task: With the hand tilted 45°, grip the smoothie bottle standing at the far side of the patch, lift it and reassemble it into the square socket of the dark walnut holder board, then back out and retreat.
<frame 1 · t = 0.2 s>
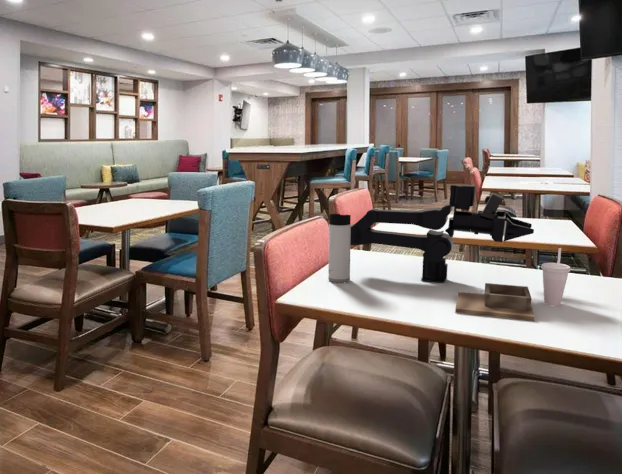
hand: (532, 228, 130), 17 cm above the table, tool horizontal, fingers open, 9 cm apart
travel mug: (338, 281, 141), on the table
holder: (493, 307, 118), on the table
smoothie: (552, 304, 121), on the table
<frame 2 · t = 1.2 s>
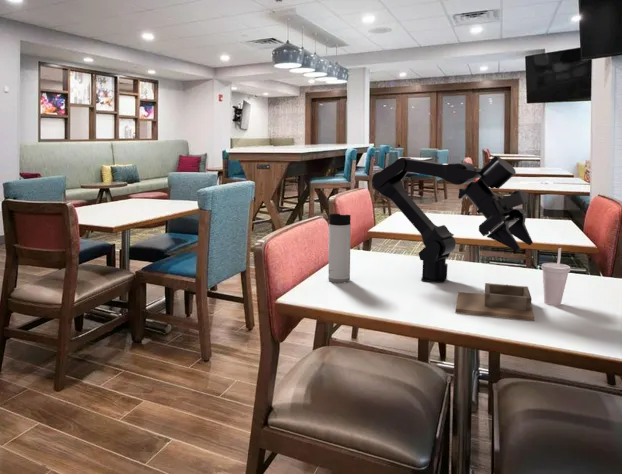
hand: (525, 246, 123), 13 cm above the table, tool tilted 45°, fingers open, 9 cm apart
nothing on the table moved.
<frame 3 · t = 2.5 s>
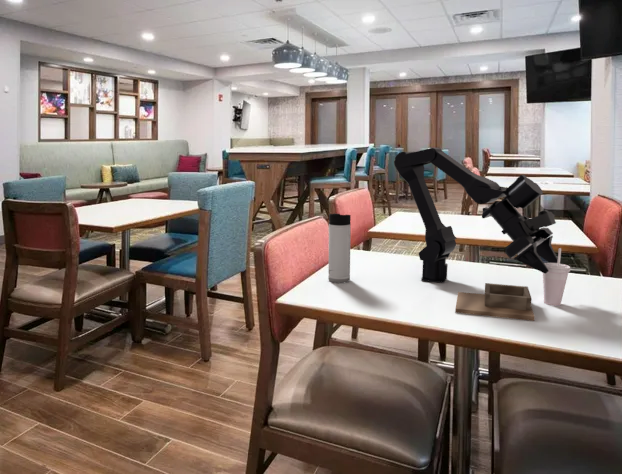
hand: (552, 268, 119), 9 cm above the table, tool tilted 45°, fingers open, 9 cm apart
nothing on the table moved.
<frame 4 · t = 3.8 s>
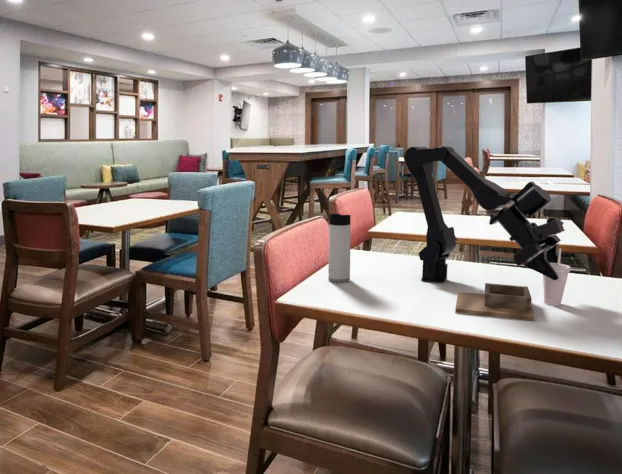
hand: (561, 276, 118), 7 cm above the table, tool tilted 45°, fingers closed on smoothie, 6 cm apart
smoothie: (552, 304, 121), on the table, touching gripper
everything else where it was.
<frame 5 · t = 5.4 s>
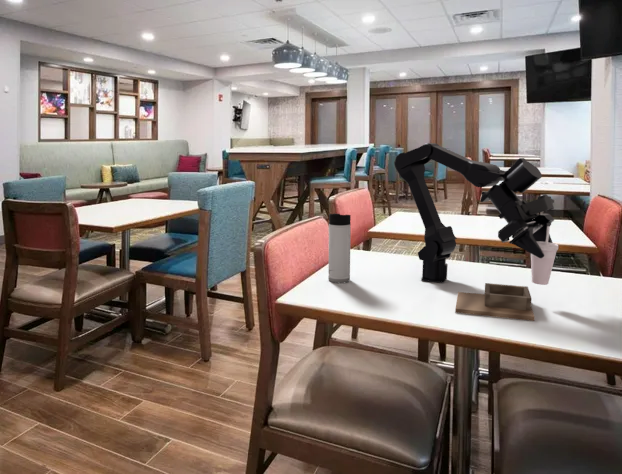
hand: (548, 255, 116), 13 cm above the table, tool tilted 45°, fingers closed on smoothie, 6 cm apart
smoothie: (539, 283, 119), point 5 cm above the table, touching gripper
everything else where it was.
when the fingers open (9 cm above the table, at t = 7.4 s): smoothie drops 1 cm, resting on holder.
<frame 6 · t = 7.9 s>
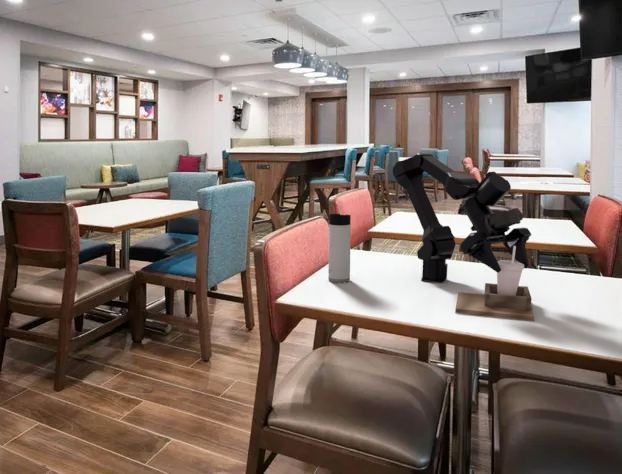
hand: (513, 269, 116), 10 cm above the table, tool tilted 45°, fingers open, 9 cm apart
smoothie: (505, 302, 119), point 1 cm above the table, touching holder
everything else where it was.
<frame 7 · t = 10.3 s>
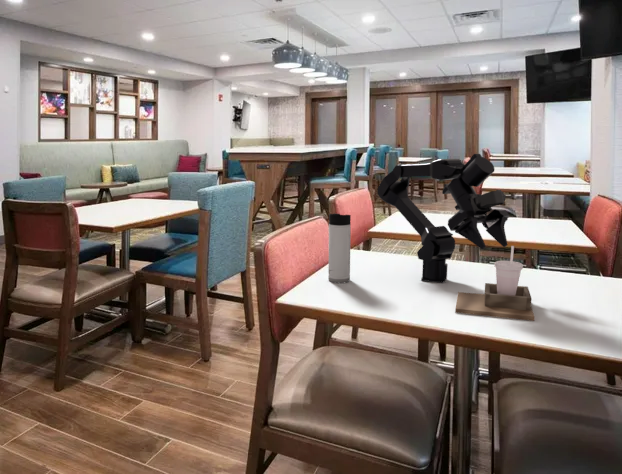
hand: (495, 247, 122), 13 cm above the table, tool tilted 40°, fingers open, 9 cm apart
nothing on the table moved.
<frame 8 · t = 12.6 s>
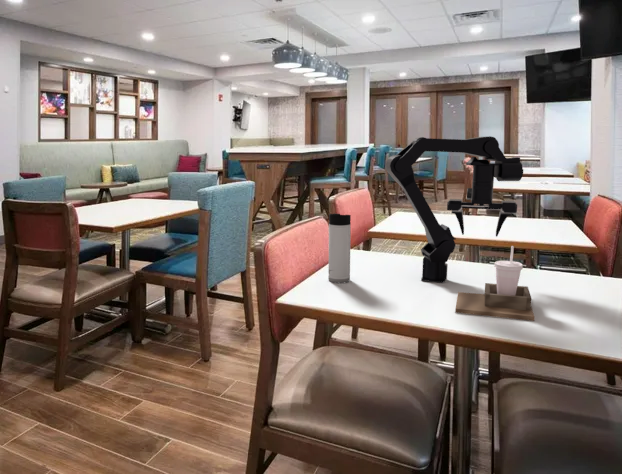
hand: (479, 235, 141), 13 cm above the table, tool pointing down, fingers open, 9 cm apart
nothing on the table moved.
at the end: smoothie 0.2 cm from the target spot on the holder, point 0.8 cm above the holder's base; smoothie tilted 0°; the gripper is holding nothing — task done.
